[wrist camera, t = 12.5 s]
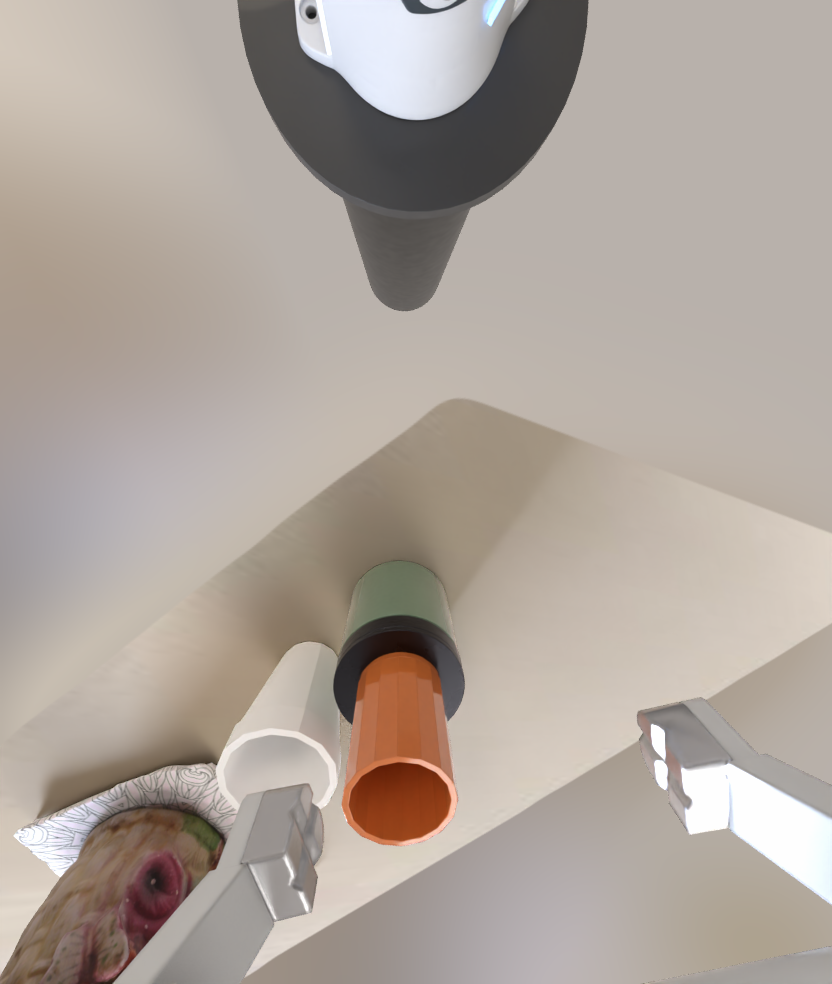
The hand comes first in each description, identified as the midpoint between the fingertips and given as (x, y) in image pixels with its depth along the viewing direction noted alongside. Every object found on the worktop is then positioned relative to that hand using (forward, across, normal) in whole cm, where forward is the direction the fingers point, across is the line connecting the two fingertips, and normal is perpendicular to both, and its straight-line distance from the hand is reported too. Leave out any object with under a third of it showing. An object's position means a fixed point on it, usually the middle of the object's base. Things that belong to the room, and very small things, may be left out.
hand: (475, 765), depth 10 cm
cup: (+19, +5, +13) cm, 23 cm away
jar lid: (+19, +5, +13) cm, 24 cm away
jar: (+31, +5, +13) cm, 34 cm away
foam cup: (+31, +16, +18) cm, 39 cm away
